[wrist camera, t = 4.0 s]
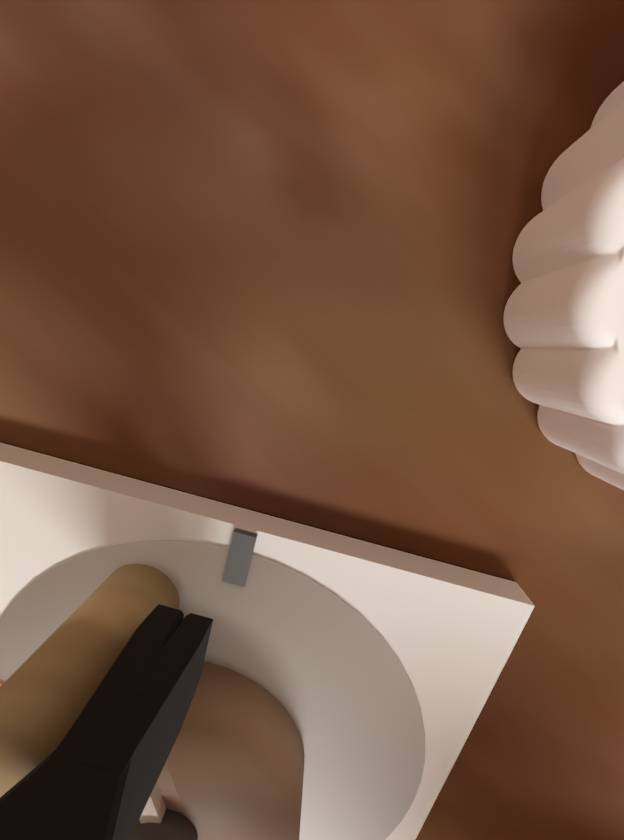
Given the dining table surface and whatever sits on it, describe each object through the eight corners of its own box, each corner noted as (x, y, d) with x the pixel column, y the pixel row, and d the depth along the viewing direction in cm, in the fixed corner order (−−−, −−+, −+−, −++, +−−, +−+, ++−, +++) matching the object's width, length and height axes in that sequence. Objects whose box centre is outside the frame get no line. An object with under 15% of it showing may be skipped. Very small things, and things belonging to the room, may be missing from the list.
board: (516, 582, 11) (539, 611, 9) (360, 902, 15) (363, 951, 13) (-4, 441, 11) (-45, 452, 9) (-13, 798, 15) (-43, 837, 14)
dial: (321, 824, 12) (314, 1085, 8) (122, 828, 13) (17, 1068, 8) (258, 547, 9) (199, 707, 5) (18, 574, 10) (-203, 732, 6)
